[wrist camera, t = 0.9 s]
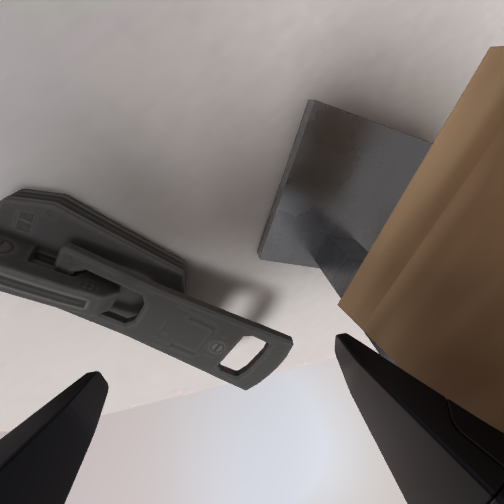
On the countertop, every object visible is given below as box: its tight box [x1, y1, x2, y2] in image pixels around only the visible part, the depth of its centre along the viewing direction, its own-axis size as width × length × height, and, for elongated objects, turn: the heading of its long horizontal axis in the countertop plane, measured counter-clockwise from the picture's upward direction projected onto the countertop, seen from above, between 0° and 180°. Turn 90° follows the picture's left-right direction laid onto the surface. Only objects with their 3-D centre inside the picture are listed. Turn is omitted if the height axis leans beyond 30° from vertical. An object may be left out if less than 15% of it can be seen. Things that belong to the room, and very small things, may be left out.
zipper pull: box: [0, 189, 293, 390], centre depth 21 cm, size 9×7×25 cm
